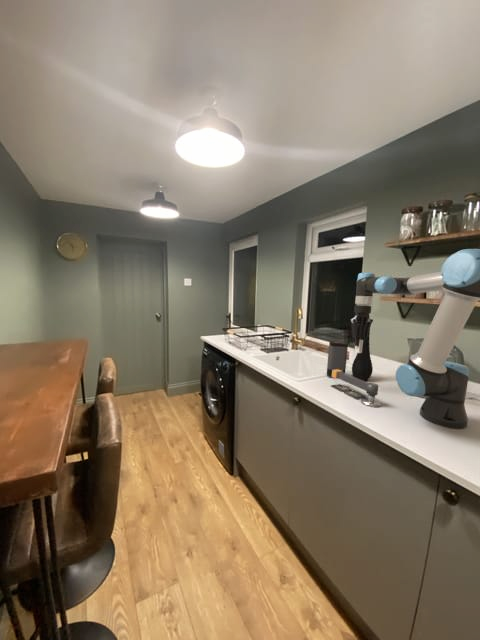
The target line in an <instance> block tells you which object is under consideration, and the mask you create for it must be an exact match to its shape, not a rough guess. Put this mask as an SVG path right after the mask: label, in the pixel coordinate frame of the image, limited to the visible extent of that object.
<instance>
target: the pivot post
mask: <svg viewBox="0 0 480 640" xmlns="http://www.w3.org/2000/svg"><path fill="white" fill-rule="evenodd" d="M367 395H368V396H367V398H362V399H360V403H361V404H363V405H365V406H367V407H371V408H380V407H382V402H381V401H380V400H377V399H376V395H370V394H367Z"/></svg>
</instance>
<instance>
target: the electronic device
mask: <svg viewBox="0 0 480 640" xmlns="http://www.w3.org/2000/svg"><path fill="white" fill-rule="evenodd" d="M348 347H349V343H347V342H346V341H334V340H330V341H329V343H328V353H327V354H328V355H327V363H326V365H327V367H326V376H327V377H328V378H330V379H334V378H333V377H332V370H336V369H339V370H341V371H343V373H346V368H347V357H348Z"/></svg>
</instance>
